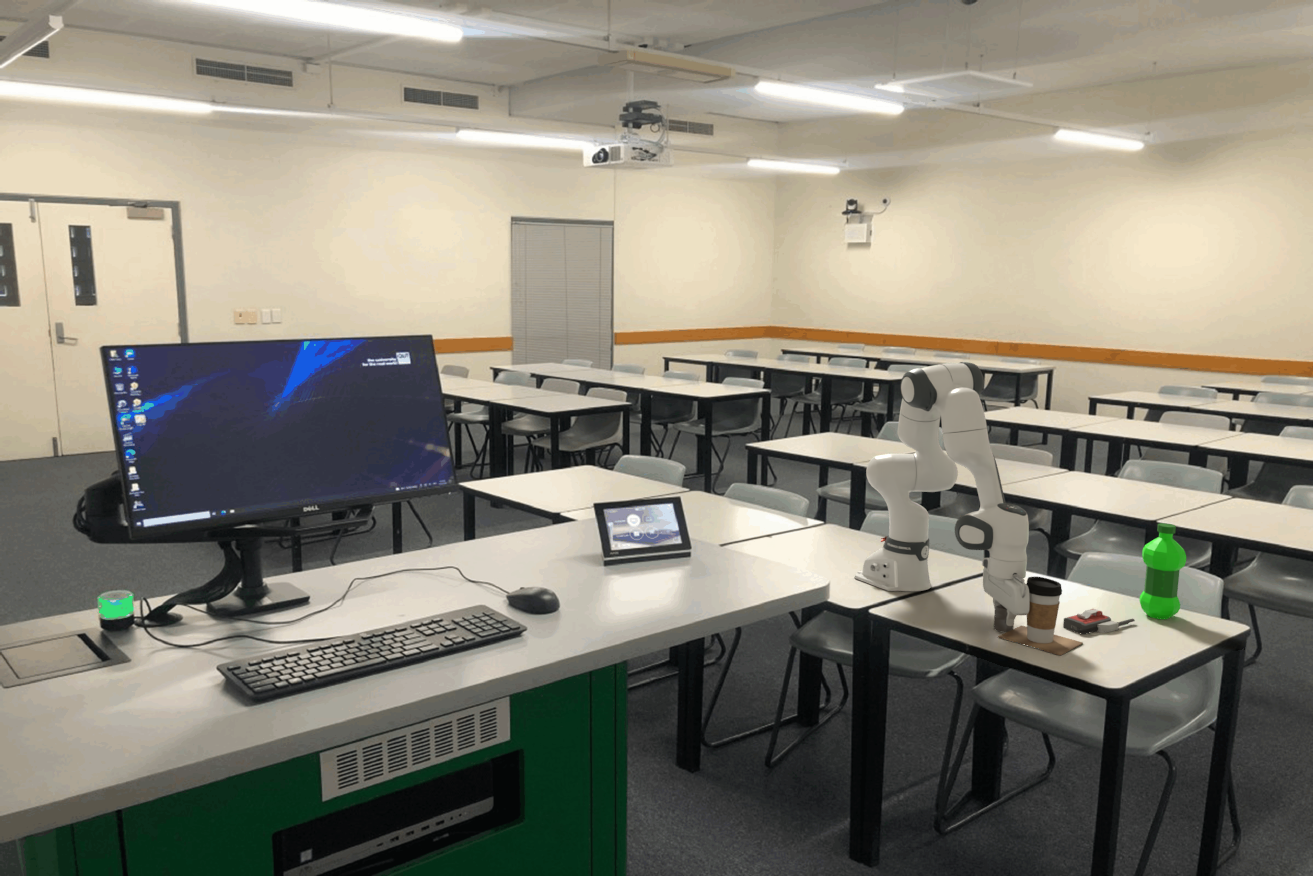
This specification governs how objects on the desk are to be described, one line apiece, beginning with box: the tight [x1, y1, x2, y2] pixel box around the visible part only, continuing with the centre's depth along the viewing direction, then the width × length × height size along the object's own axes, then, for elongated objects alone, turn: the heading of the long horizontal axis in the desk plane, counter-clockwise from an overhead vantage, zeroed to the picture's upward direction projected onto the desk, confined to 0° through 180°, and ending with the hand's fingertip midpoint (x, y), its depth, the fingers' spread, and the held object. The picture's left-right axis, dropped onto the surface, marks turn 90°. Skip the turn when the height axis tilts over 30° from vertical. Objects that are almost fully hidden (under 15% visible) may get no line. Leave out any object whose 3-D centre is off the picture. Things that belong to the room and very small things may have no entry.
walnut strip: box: [993, 605, 1084, 656], centre depth 239 cm, size 20×12×6 cm, turn 42°
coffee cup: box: [1025, 576, 1063, 643], centre depth 237 cm, size 8×8×15 cm
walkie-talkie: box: [1062, 608, 1136, 635], centre depth 249 cm, size 9×4×20 cm
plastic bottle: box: [1138, 522, 1187, 620], centre depth 255 cm, size 10×10×25 cm
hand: (1003, 620), depth 245 cm, fingers closed on walnut strip, 5 cm apart
